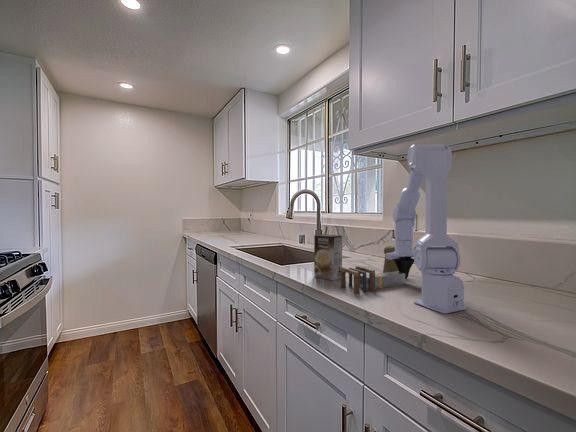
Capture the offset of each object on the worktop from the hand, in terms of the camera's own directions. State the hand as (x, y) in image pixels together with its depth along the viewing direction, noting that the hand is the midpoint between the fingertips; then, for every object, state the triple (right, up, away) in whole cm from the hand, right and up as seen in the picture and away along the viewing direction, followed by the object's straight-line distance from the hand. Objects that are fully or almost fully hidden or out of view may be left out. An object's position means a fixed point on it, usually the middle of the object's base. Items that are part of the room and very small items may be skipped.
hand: (403, 278), depth 101 cm
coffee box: (-25, -2, +9) cm, 27 cm away
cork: (0, -1, +13) cm, 13 cm away
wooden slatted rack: (-18, -2, -8) cm, 20 cm away
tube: (-8, -2, -4) cm, 9 cm away
